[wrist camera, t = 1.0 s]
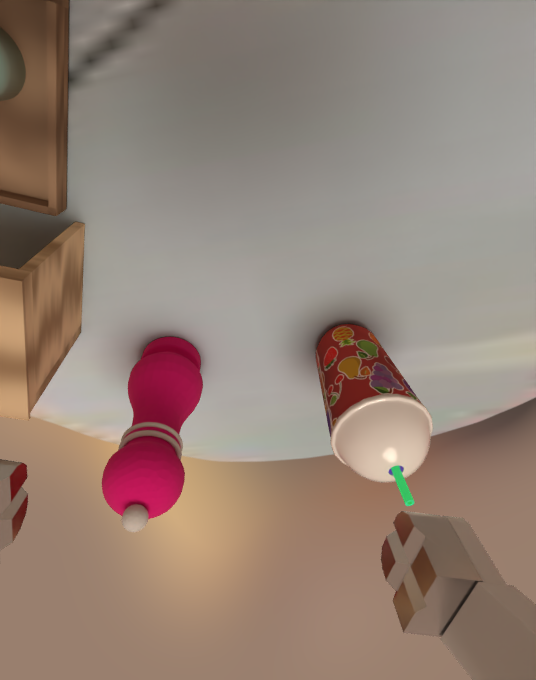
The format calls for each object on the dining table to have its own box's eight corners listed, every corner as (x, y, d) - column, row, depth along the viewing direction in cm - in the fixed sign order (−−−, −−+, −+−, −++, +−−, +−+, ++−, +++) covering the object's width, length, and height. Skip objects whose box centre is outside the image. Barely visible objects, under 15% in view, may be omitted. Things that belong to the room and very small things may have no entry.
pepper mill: (190, 323, 42) (159, 484, 25) (214, 376, 46) (202, 546, 29) (126, 342, 43) (54, 511, 26) (155, 393, 46) (109, 568, 30)
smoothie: (304, 377, 47) (343, 542, 30) (308, 313, 42) (356, 464, 25) (375, 374, 47) (454, 534, 30) (386, 310, 43) (486, 457, 26)
